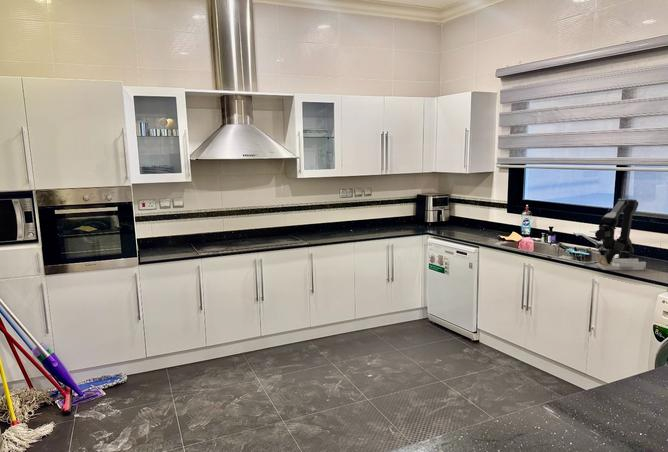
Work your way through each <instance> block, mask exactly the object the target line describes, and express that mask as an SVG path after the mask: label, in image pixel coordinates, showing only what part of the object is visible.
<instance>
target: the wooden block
mask: <svg viewBox="0 0 668 452" xmlns="http://www.w3.org/2000/svg"><path fill="white" fill-rule="evenodd" d="M613 259H614V257H613V258H612V260H611V263H610V264H608V263H607V260H606V256H605V255H600V254H599V259H598V261H599V262H598V263H599V264H601V265H603V266H612V263H613Z"/></svg>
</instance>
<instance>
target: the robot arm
mask: <svg viewBox="0 0 668 452" xmlns="http://www.w3.org/2000/svg"><path fill="white" fill-rule="evenodd" d="M638 207H639V201H637V199H629V198H618V201H617V202H616V204H615V206H614V207H613V208H612V209H611V211H610V212H608V213H606V214H604V216H603V217H602V218H601V220H600V222H599V225H598V230H596V231H595V233H594V235H595V236H594V237H596V239H598V240H601V241H602V243H600V242H599V243H598V242H597V243H596V244H595V246H594V247H595V249H597V251H598V253H599V256H600V255H605V256H606V260H607V263H608V264H610V263H611V260H612V261H613V259H614V257H615V256H616V255H618V256H617V257H618V258H617V259H630V255H634V252H635V250H634V247H633V246H632V244H633V243H632V240H631V239H630V234H631V227H632V223H633V222H632V220H633V215H634V213H636V211H637V210H638ZM622 213H623V215H622V221H621V229H620V236H619V237H618V238H616V239H615V230H617V228H616V227H617V226H618V224H619V219H618V218H619V217H620V215H621V214H622ZM612 258H613V259H612Z"/></svg>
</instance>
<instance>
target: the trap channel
mask: <svg viewBox="0 0 668 452" xmlns="http://www.w3.org/2000/svg"><path fill="white" fill-rule="evenodd" d="M646 264H647V262H646V261H639V258H629V259H618V258H613V259H612V266H603V265H601V264H599V262H596V267H598V268H600V269H602V270H603V271H607V270H608V271H615V270H616V271H620V270H621V271H628V270H629V271H631V270H632V271H633V270H634V271H639V270H640V271H646V268H647V267H646V266H647V265H646Z"/></svg>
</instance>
